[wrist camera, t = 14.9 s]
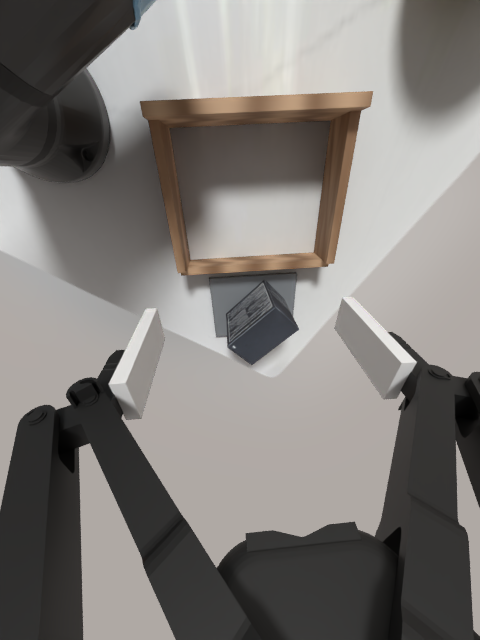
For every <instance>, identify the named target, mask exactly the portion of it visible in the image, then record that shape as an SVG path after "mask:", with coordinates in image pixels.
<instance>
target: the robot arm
mask: <svg viewBox="0 0 480 640" xmlns="http://www.w3.org/2000/svg"><path fill="white" fill-rule="evenodd" d="M155 1H156V0H0V166H13V167H15V168H17V169H19V170H21V171H23V172H25V173H28V174H30V175H32V176H34V177H37V178H39V179H43V180H46V181H51V182H59V183H66V182H76V181H81V180H84V179H86V178H88V177H90V176H92V175H93V174H94V173H95V172H96V171H97V170H98V169H99V168H100V167H101V165H102V164H103V162H104V160H105V158H106V155H107V152H108V147H109V139H110V130H109V121H108V115H107V111H106V107H105V104H104V101H103V98H102V96H101V94H100V91H99V89H98V87H97V85H96V83H95V81H94V80H93V78H92V76H91V75H90V73H89V72H88V70H87V69H86V68H87V67H88V66H89V65H90V64H91V63H92V62H93V61H94V60H95V59H96V58H97V57H98V56H99V55H100V54H102V53H103V52H104V51H105V50H106V49H107V48H108V47H109V46H110V45H111V44H112V43H113V42H114V41H115V40H116V39H117V38H118V37H119V36H121V35H122V34H123V33H124V32H125V31H126V30H127V29H128V28H130V29H131V30H134V29H135V28H137V27H138V25H139V22H140V19H141V16H142V15H143V14H144V13H145V12H146V11H147V10H148V9H149V8H150V6H151V5H152V4H153V3H154V2H155ZM335 330H336V331H337V333H338V334H339V336H340V337H341V339H342V340H343V341H344V343H345V344H346V346H347V347H348V349H349V350H350V352H351V353H352V355H353V356H354V357H355V359H356V360H357V362H358V363H359V365H360V366H361V368H362V369H363V370H364V372H365V373H366V375H367V376H368V378H369V379H370V380H371V382H372V384H373V385H374V386H375V388H376V389H377V391H378V392H379V393H380V395H381V397H382V398H383V399H395V398H397V397H398V395H399V393H400V391H402V393H403V394H404V395H405V398H404V400H403V402H402V404H401V405H400V407H399V409H398V410H401V415H400V420H399V426H398V431H397V437H396V442H395V447H394V453H393V459H392V464H391V470H390V475H389V481H388V486H387V491H386V497H385V502H384V508H383V513H382V518H381V522H380V525H379V527H378V530H377V531H376V535H375V537H374V536H372V535H370V534H368V533H365V532H363V531H360V530H358V529H357V526H356V524H355V522H349V523H340V524H330V525H327V526H325V527H323V528H321V529H319V530H317V531H315V532H313V533H311V534H309V535H307V536H305V537H299V536H294V535H290V534H286V533H282V532H277V531H263V532H254V533H246V540H245V541H243V542H241V543H239V544H238V545H237V546H235V547H234V548H233V549H231V550H230V552H228V554H227V555H226V556H225V557H224V558H223V559H222V561H221V562H220V564H219V566H218V567H217V568H216V567H215V565H214V564H213V562H212V561H211V559H210V557H209V556H208V554H207V553H206V551H205V549H204V548H203V546H202V545H201V543H200V541H199V540H198V538H197V537H196V535H195V534H194V532H193V530H192V529H191V527H190V526H189V524H188V523H187V521H186V520H185V519H184V518H183V516H182V515H181V513H180V512H179V510H178V508H177V507H176V505H175V504H174V502H173V500H172V499H171V497H170V495H169V494H168V492H167V491H166V489H165V487H164V486H163V485H162V483H161V481H160V479H159V478H158V476H157V475H156V473H155V472H154V470H153V468H152V467H151V465H150V463H149V462H148V460H147V459H146V457H145V455H144V454H143V453H142V451H141V449H140V447H139V446H138V444H137V443H136V441H135V440H134V438H133V437H132V435H131V433H130V432H129V430H128V428H127V427H126V425H125V424H124V422H123V420H122V419H121V417H122V415H123V414H124V416H125V418H126V420H131V419H141V418H142V414H143V411H144V408H145V404H146V401H147V398H148V394H149V391H150V388H151V384H152V381H153V377H154V374H155V371H156V368H157V364H158V361H159V358H160V354H161V351H162V348H163V344H164V341H165V337H164V333H163V329H162V325H161V321H160V318H159V314H158V310H157V308H149V309H145V311H144V313H143V315H142V317H141V319H140V321H139V323H138V326H137V327H136V330H135V332H134V334H133V336H132V338H131V340H130V342H129V344H128V346H127V348H126V350H116V351H115V352H114V353H113V354H112V355H111V356H110V357H109V359H108V360H107V362H106V365H105V366H104V368H103V371H101V373H100V375H99V376H98V378H97V379H96V378H92V377H91V378H84V379H82V380H79V381H78V382H76V383H74V384H73V385H72V386H71V387H70V388H69V389H68V391H67V393H66V397H67V399H68V400H69V402H70V403H71V405H70V406H67V407H64V408H61V409H58V410H55V408H54V407H52V406H51V405H43V406H39V407H37V408H35V409H32V410H31V411H30V412H28V413H27V414H25V415H24V416H23V418H22V419H21V420H20V422H19V424H18V428H17V432H16V437H15V442H14V447H13V452H12V456H11V461H10V466H9V471H8V476H7V481H6V485H5V490H4V495H3V500H2V505H1V510H0V640H83V615H82V613H83V611H82V571H81V570H82V569H81V527H80V526H81V525H80V483H79V447H81V446H83V445H86V444H89V443H90V444H91V446H92V449H93V451H94V453H95V455H96V458H97V460H98V462H99V464H100V466H101V469H102V471H103V473H104V475H105V477H106V479H107V482H108V484H109V486H110V488H111V491H112V493H113V495H114V497H115V499H116V501H117V504H118V506H119V508H120V510H121V512H122V514H123V517H124V519H125V521H126V523H127V525H128V528H129V530H130V532H131V534H132V537H133V539H134V541H135V543H136V545H137V548H138V550H139V552H140V554H141V557H142V560H143V565H144V569H145V571H146V574H147V576H148V578H149V581H150V583H151V585H152V587H153V590H154V592H155V594H156V596H157V599H158V601H159V603H160V605H161V607H162V610H163V612H164V614H165V616H166V619H167V621H168V623H169V625H170V628H171V630H172V632H173V634H174V637H175V639H176V640H480V636H479V635H478V634H477V633H476V632H475V631H474V630H473V616H472V597H471V578H470V559H469V541H468V535H467V532H466V530H465V528H464V527H462V526H461V525H459V522H458V518H457V517H458V516H457V477H456V441H457V445H458V447H459V450H460V453H461V456H462V458H463V462H464V464H465V467H466V470H467V473H468V476H469V479H470V482H471V484H472V487H473V490H474V493H475V496H476V499H477V501H478V504H479V507H480V372H474V373H472V374H471V375H470V376H469V378H461V377H455V376H452V375H451V374H450V373H449V372H448V371H446V370H445V369H443V368H441V367H438V366H435V365H429V364H428V363H427V362H425V360H423V358H422V357H420V356H419V355H418V354H417V353H416V352H415V351H414V350H413V349H411V347H410V346H409V345H408V344H406V342H405V341H404V340H403V339H402V338H401V337H399V336H398V335H396V334H394V333H393V332H387V331H386V330H385V329H384V328H383V327H382V326H381V325H380V324H379V323H378V322H377V321H376V320H375V319H374V318H373V317H372V316H371V315H370V314H369V313H368V312H367V311H366V310H365V309H364V308H363V307H362V306H361V305H360V304H359V303H358V302H357V301H356V300H355V299H354V298H353V297H342V301H341V305H340V309H339V312H338V316H337V320H336V325H335Z"/></svg>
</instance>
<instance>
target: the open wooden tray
mask: <svg viewBox="0 0 480 640" xmlns="http://www.w3.org/2000/svg"><path fill="white" fill-rule="evenodd" d="M372 95H373V91H368V92H345V93H322V94H298V95H275V96H252V97H228V98H205V99H182V100H158V101H140V105H141V110H142V115H143V117H144V118H146V119H147V120H148V122H149V127H150V132H151V138H152V143H153V148H154V153H155V158H156V163H157V168H158V173H159V179H160V184H161V189H162V194H163V199H164V204H165V209H166V215H167V220H168V225H169V230H170V235H171V240H172V245H173V250H174V256H175V261H176V266H177V271H178V273H181V276H182V275H198V274H214V273H230V272H246V271H262V270H279V269H295V268H311V267H327V266H328V264H332V263H334V260H335V255H336V249H337V244H338V238H339V232H340V227H341V221H342V215H343V210H344V204H345V198H346V193H347V187H348V182H349V176H350V170H351V165H352V159H353V153H354V148H355V142H356V136H357V131H358V125H359V119H360V114H361V110H364V109H366V108H368V107H370V105H371V100H372ZM311 121H331V122H330V130H329V137H328V145H327V153H326V161H325V169H324V177H323V185H322V193H321V201H320V208H319V216H318V224H317V232H316V240H315V248H314V253H299V254H282V255H266V256H249V257H232V258H216V259H199V260H190V254H189V248H188V241H187V235H186V229H185V223H184V216H183V210H182V204H181V197H180V191H179V185H178V179H177V172H176V166H175V160H174V154H173V147H172V141H171V135H170V129H169V128H180V127H202V126H224V125H245V124H267V123H289V122H311Z"/></svg>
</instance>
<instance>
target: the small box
mask: <svg viewBox="0 0 480 640" xmlns="http://www.w3.org/2000/svg"><path fill="white" fill-rule="evenodd" d="M226 321H227V343H228V345H227V347H228V348H229V349H230V350H232V351H233V352H234V353H236V354H237V355H239V356H240V357H241V358H243V359H244V360H245V361H247V362H248V363H250V364H251V365H253V364H254V363H255V362H256V361H258V360H259V359H260V358H262V357H263V356H264V355H266V354H267V353H268V352H270V351H271V350H272V349H274V348H275V347H276V346H278V345H279V344H280V343H282V342H283V341H284V340H286V339H287V338H288V337H290V336H291V335H292V334H294V333H295V332H296V331H298V330H299V328H298V326H297V324H296V322H295V320H294V318H293V316H292V314H291V312H290V310H289V308H288V306H287V304H286V302H285V300H284V298H283V297H282V296H281V295H280V294H279V293H278V292H277V291H276V290H275V289H274V288H273V287H272V286H271V285H270V284H269V283H268V282H267V281H266V280H263V281H262V282H261V283H260V284H259V285H258V286H257V287H255V288H254V289H253V290H252V291H251V292H250V293H249V294H248V295H246V296H245V297H244V298H243V299H242V300H241V301H240V302H239V303H237V304H236V305H235V306H234V307H233V308H232V309H231V310H230V311H229V312H227V313H226Z"/></svg>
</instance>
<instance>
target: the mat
mask: <svg viewBox="0 0 480 640" xmlns="http://www.w3.org/2000/svg"><path fill="white" fill-rule="evenodd" d="M296 277H297V273H296V272H294V273H278V274H262V275H246V276H230V277H214V278H209V282H210V290H211V298H212V307H213V315H214V323H215V331H216V337H221V336H227V321H226V313H227V312H229V311H230V310H231V309H232V308H233V307H234V306H235V305H236V304H237V303H239V302H240V301H241V300H242V299H243V298H244V297H245V296H246V295H248V294H249V293H250V292H251V291H252V290H253V289H254V288H255V287H257V286H258V285H259V284H260V283H261V282H262V281H263V280H266V281H267V282H268V283H269V284H270V285H271V286H272V287H273V288H274V289H275V290H276V291H277V292H278V293H279V294H280V295H281V296H282V297H283V298H284V300H285V302H286V304H287V306H288V308H289V310H290V312H291V314H292V316H293V310H294V299H295V288H296Z"/></svg>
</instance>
